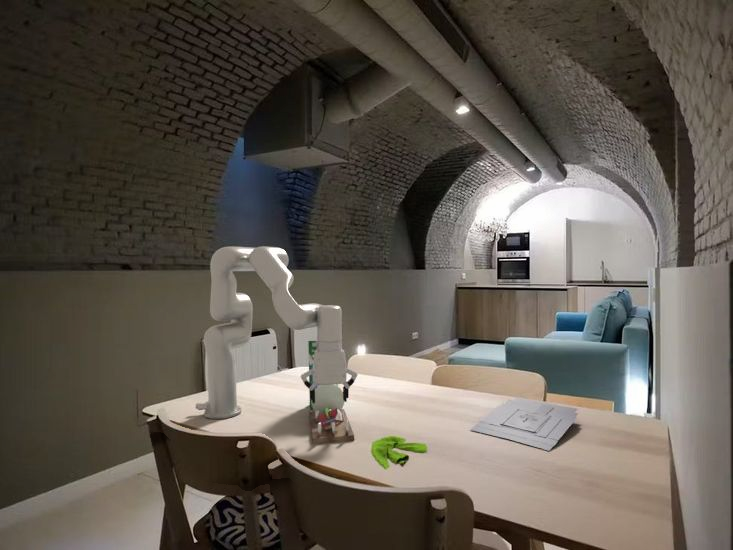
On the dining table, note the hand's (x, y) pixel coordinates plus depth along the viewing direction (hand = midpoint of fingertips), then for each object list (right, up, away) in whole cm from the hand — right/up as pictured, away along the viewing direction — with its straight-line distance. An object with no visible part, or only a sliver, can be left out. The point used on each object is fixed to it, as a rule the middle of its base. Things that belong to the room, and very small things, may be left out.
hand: (329, 401), depth 133 cm
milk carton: (-4, -10, +27) cm, 29 cm away
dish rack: (0, -10, +5) cm, 11 cm away
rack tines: (0, -8, +5) cm, 10 cm away
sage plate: (-1, -8, +11) cm, 14 cm away
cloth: (+21, -11, -15) cm, 28 cm away
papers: (+62, -9, +3) cm, 63 cm away
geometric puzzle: (0, -9, 0) cm, 9 cm away
